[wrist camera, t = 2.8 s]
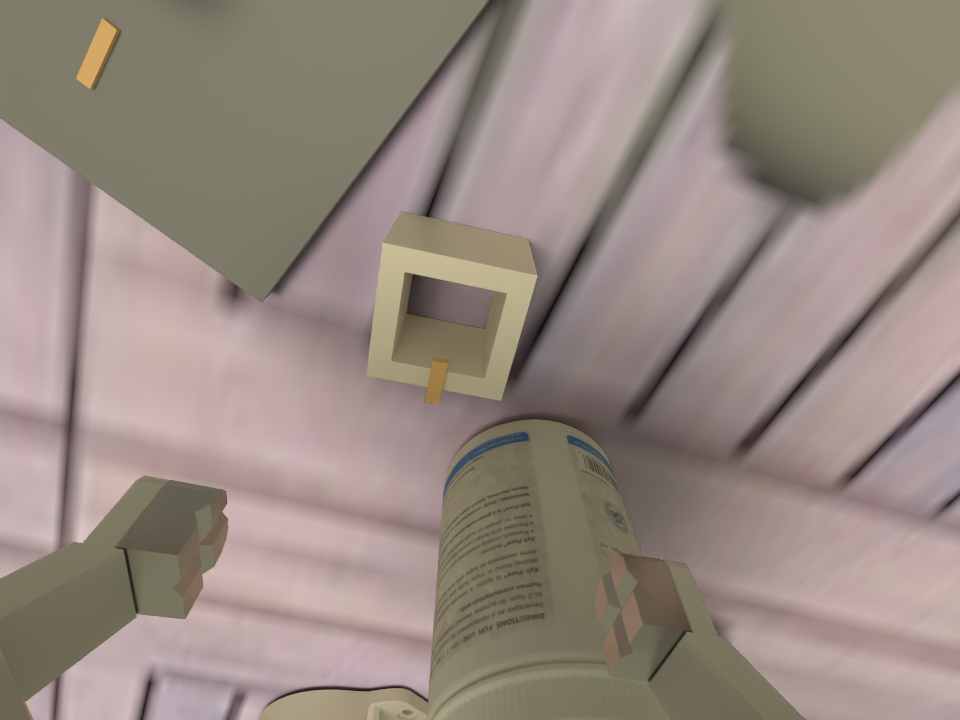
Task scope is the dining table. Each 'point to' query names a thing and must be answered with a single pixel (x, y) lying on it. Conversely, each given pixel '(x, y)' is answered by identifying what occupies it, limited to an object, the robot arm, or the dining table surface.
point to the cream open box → (439, 344)
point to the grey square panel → (223, 107)
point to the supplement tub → (529, 581)
